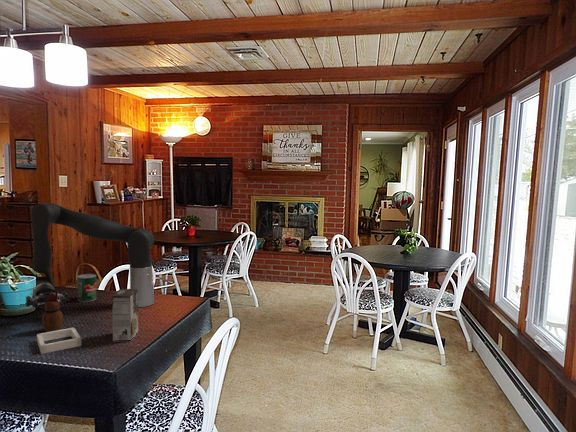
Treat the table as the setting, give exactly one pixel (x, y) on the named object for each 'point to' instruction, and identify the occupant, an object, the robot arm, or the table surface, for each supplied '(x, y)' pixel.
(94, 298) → the canned tomato
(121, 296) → the coffee box
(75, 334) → the frame
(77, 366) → the table surface
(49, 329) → the wooden figurine
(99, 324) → the table surface
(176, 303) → the table surface
